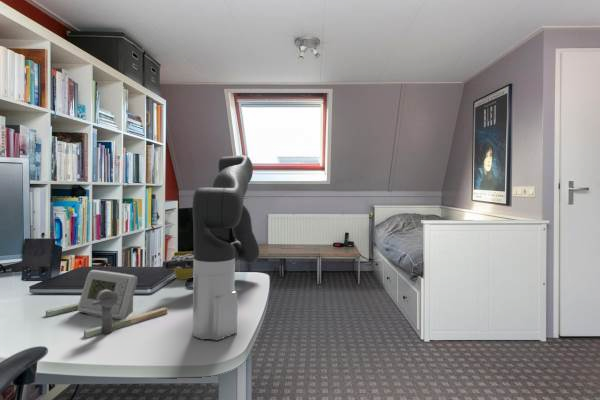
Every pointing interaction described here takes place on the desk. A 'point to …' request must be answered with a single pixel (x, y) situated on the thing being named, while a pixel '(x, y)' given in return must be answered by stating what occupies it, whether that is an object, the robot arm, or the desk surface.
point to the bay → (107, 314)
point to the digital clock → (113, 282)
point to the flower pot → (182, 272)
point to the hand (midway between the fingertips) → (164, 265)
